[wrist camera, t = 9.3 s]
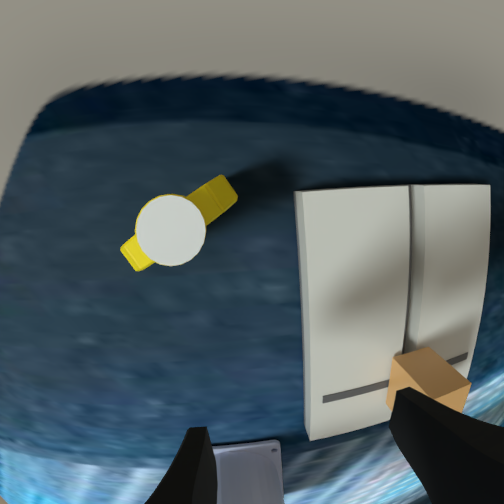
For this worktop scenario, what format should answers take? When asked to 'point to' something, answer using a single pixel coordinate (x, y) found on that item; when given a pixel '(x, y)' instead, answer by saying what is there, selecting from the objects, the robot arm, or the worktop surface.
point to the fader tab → (428, 378)
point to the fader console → (385, 290)
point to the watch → (177, 225)
